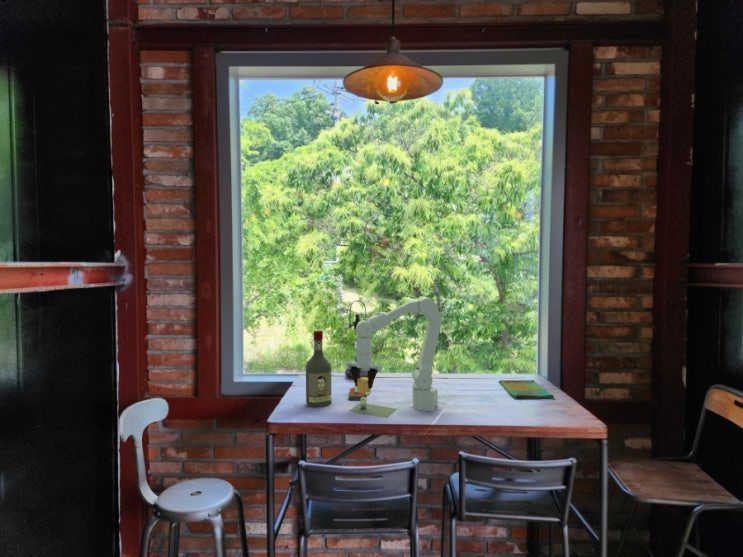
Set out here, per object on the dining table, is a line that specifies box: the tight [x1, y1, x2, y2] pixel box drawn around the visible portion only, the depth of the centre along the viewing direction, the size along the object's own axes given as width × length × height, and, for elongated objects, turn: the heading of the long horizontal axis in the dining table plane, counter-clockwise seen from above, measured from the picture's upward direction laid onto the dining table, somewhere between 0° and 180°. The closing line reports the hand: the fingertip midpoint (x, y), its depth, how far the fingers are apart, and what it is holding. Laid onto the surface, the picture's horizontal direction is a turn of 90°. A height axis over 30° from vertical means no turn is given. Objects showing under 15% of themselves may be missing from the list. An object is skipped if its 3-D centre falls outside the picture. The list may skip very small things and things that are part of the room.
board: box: [348, 402, 398, 419], centre depth 166 cm, size 16×10×1 cm, turn 65°
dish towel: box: [498, 379, 555, 400], centre depth 192 cm, size 17×23×2 cm
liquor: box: [305, 330, 333, 409], centre depth 172 cm, size 9×9×30 cm
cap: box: [357, 376, 372, 393], centre depth 167 cm, size 5×5×4 cm
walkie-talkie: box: [348, 385, 371, 401], centre depth 185 cm, size 9×4×20 cm
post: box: [359, 397, 368, 410], centre depth 167 cm, size 2×2×4 cm
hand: (363, 387), depth 167 cm, fingers closed on cap, 5 cm apart
